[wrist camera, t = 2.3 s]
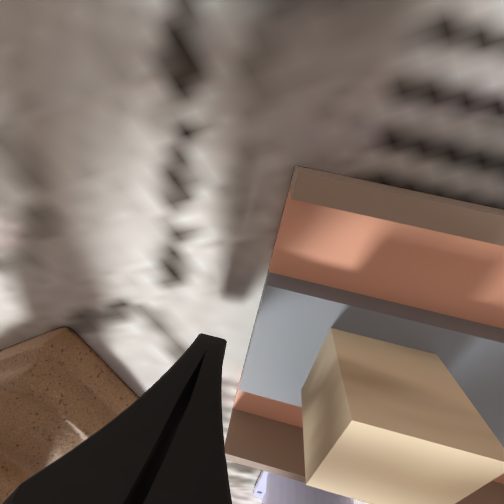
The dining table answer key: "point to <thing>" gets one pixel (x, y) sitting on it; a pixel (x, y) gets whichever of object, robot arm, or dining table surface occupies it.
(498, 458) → the maple block
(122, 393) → the candle holder
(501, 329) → the box
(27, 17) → the dining table surface
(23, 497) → the robot arm
